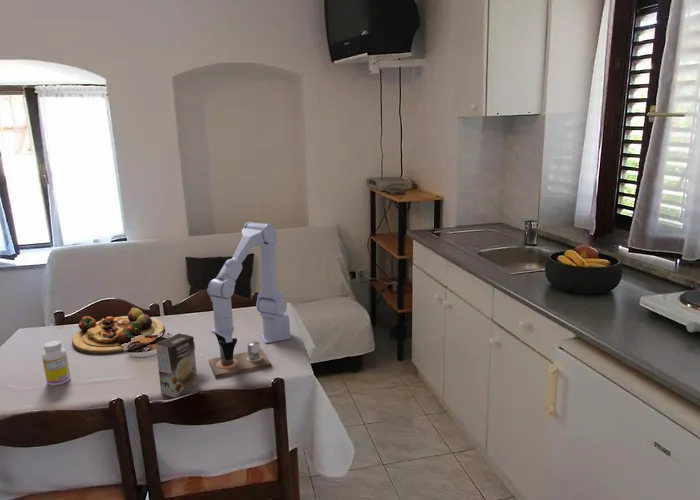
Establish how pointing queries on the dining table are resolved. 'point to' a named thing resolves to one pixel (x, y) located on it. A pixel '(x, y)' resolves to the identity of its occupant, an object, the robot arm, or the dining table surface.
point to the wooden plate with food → (113, 332)
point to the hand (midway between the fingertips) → (226, 354)
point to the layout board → (241, 362)
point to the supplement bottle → (55, 363)
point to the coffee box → (176, 364)
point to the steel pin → (224, 361)
